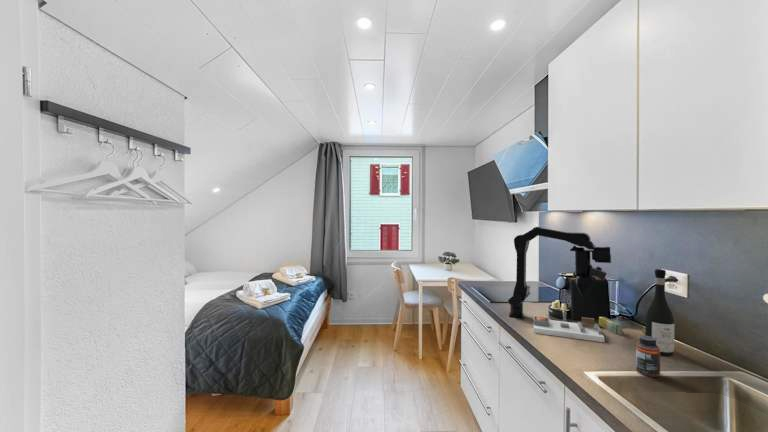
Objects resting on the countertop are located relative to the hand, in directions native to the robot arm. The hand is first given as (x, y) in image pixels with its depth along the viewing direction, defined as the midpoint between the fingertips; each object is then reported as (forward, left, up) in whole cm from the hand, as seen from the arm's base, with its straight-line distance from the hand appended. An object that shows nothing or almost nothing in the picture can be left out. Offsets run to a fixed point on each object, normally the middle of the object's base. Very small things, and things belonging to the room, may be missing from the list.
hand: (583, 297), depth 143 cm
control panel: (+8, -7, -14) cm, 17 cm away
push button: (+8, -17, -11) cm, 22 cm away
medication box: (-3, +10, -14) cm, 18 cm away
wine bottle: (+17, +22, -14) cm, 31 cm away
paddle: (+5, +1, -11) cm, 12 cm away
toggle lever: (+8, -8, -9) cm, 14 cm away
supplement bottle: (+38, +13, -14) cm, 42 cm away
